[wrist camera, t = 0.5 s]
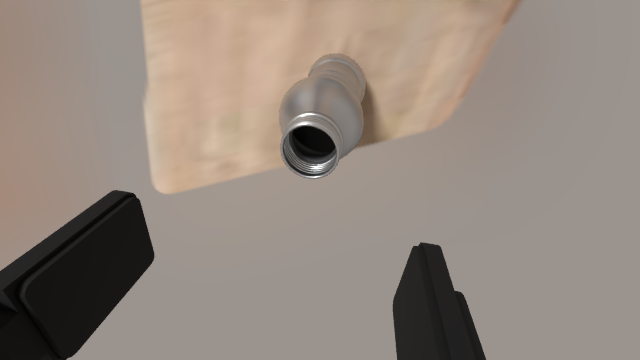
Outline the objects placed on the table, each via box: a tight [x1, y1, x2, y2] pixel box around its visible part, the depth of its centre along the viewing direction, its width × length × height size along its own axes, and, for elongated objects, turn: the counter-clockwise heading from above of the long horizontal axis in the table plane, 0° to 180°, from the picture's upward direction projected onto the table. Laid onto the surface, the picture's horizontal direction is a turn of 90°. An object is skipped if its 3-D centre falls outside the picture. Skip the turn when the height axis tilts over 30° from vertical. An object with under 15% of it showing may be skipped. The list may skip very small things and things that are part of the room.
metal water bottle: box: [279, 54, 366, 179], centre depth 26 cm, size 6×7×20 cm
